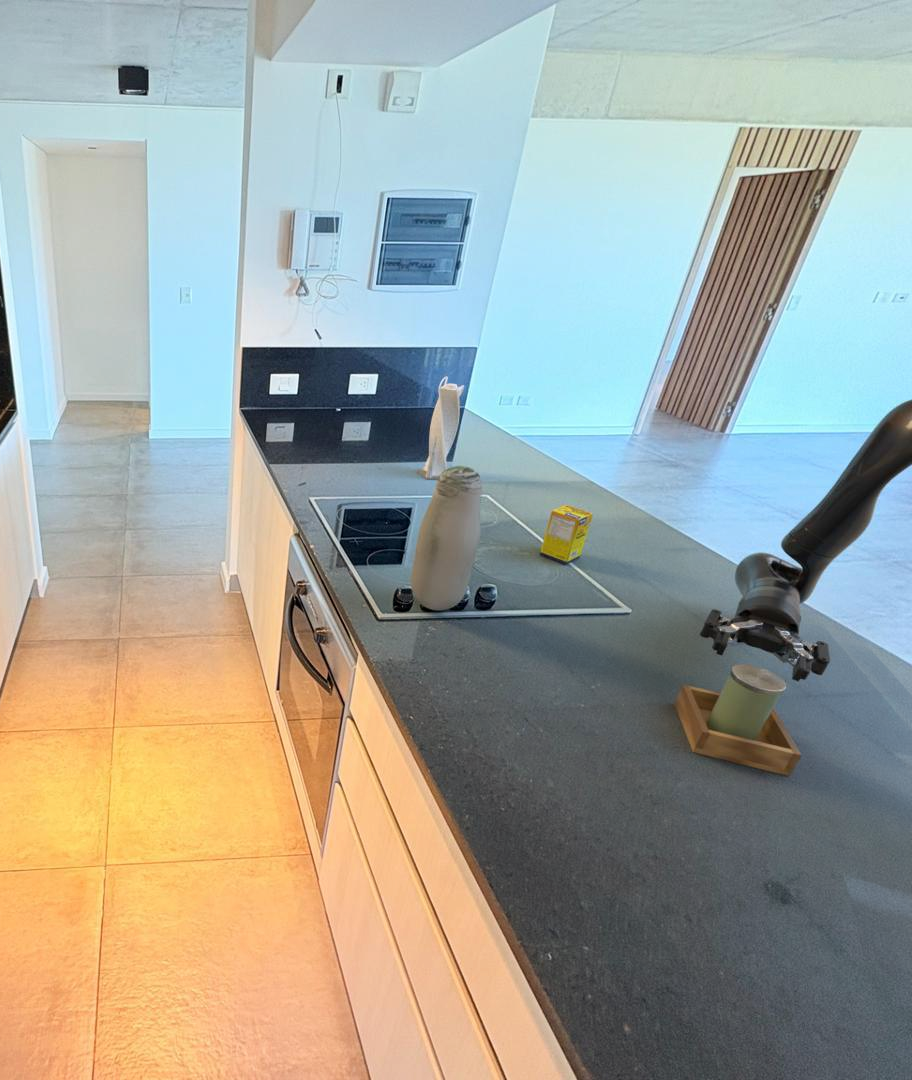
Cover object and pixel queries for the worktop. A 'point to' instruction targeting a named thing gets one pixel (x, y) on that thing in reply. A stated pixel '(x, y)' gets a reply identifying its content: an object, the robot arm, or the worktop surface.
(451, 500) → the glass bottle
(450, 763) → the worktop surface
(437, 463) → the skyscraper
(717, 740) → the holder
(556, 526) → the supplement box
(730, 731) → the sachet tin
